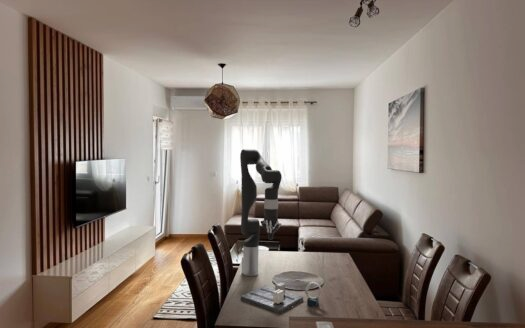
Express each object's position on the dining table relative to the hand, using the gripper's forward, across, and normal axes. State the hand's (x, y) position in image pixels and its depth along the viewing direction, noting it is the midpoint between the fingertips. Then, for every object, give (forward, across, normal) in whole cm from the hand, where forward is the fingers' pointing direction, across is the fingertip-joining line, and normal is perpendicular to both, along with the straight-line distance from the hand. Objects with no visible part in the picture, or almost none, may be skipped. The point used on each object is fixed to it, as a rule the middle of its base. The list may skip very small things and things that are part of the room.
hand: (270, 239), depth 199 cm
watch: (+27, +28, -2) cm, 39 cm away
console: (+27, +10, -11) cm, 31 cm away
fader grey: (+25, +12, -7) cm, 28 cm away
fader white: (+25, +17, -15) cm, 33 cm away
